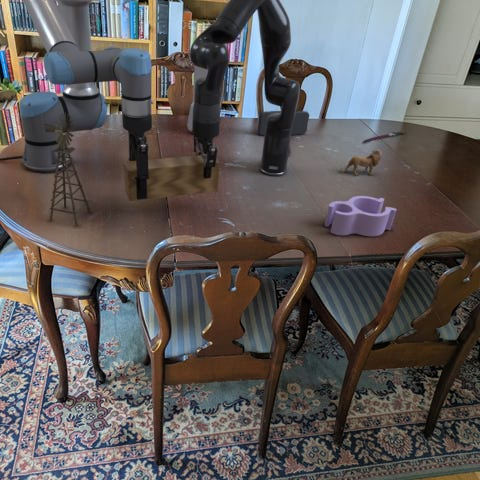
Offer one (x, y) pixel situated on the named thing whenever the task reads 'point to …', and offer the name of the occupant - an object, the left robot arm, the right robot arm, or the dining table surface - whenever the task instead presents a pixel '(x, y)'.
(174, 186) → the bar
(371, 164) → the lion figurine
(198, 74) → the electronic device
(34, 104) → the left robot arm
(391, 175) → the dining table surface
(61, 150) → the miniature windmill
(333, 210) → the clip
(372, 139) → the sword
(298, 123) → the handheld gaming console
